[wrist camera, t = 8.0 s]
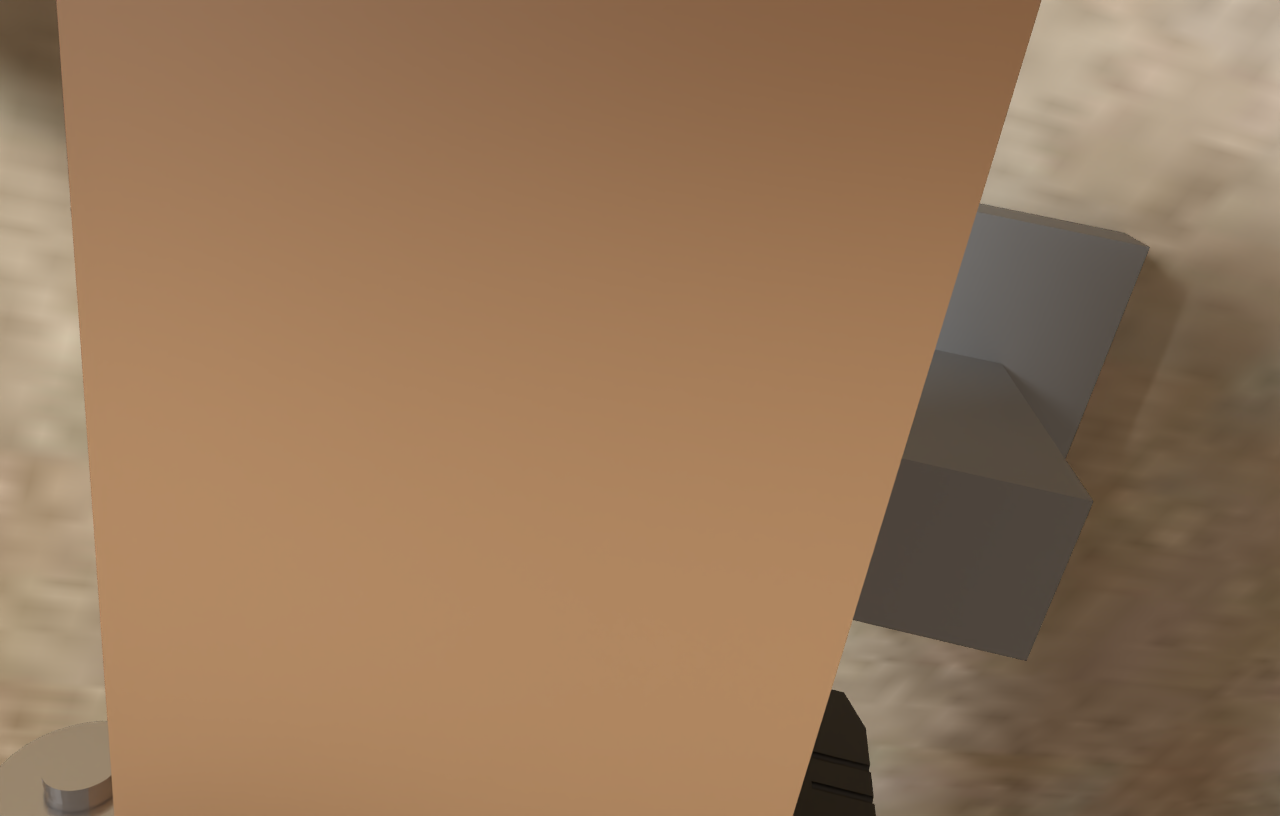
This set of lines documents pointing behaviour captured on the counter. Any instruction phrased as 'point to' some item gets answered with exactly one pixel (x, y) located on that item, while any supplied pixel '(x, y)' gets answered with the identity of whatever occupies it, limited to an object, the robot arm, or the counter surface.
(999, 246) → the ridge stand
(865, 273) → the wooden beam
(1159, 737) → the counter surface
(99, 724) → the robot arm
